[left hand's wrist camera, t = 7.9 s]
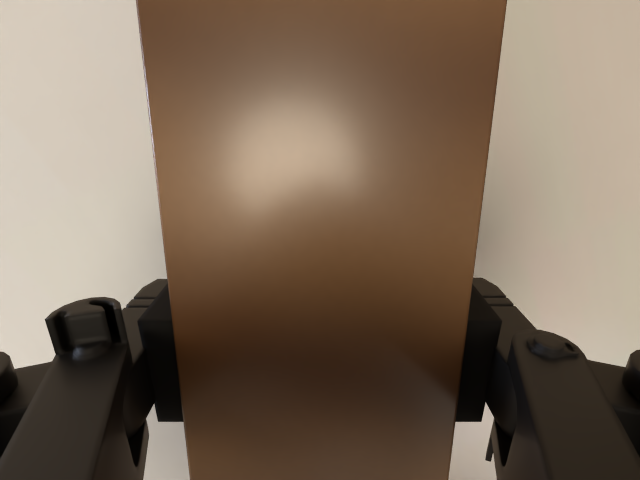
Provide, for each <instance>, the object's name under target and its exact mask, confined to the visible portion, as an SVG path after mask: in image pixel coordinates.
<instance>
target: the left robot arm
mask: <svg viewBox="0 0 640 480" xmlns="http://www.w3.org/2000/svg"><path fill="white" fill-rule="evenodd" d="M45 321H46V325H47V328H48V331H49V334H50V337H51V341H52V344H53V347H54V350H55V353H56V355H55V357H54V359H53V361H52V362H48V363H43V364H38V365H33V366H28V367H23V368H18V369H14V367H13V364H12V361H11V359H10V356H9V355H7V354H6V353H4V352H0V480H143V476H144V469H145V462H146V454H147V447H148V439H149V432H148V426H147V421H146V417H147V416H148V414H149V412H150V410H151V408H152V406H153V404H155V409H156V414H157V418H158V422H184V420H183V412H182V403H181V394H180V385H179V376H178V367H177V359H176V350H175V341H174V332H173V323H172V314H171V305H170V297H169V288H168V279H157V280H155V281H153V282H152V283H150V284H148V285H146V286H145V287H143V288H142V289H141V290H140V291H139V292H138V293H137V294H136V296H135V297H134V299H132V300H131V301H130V302H129V303H128V304H127V305H126V308H124V309H123V310H122V309H121V305H120V302H118V301H117V300H115V299H113V298H107V297H95V298H88V299H83V300H78V301H75V302H73V303H70V304H67V305H64V306H63V307H61V308H59V309H57V310H55V311H54V312H52V313H51V314H50V315H49V316H48V317H47V318H46V319H45ZM485 402H486V403H487V405H488V407H489V409H490V411H491V413H492V414H493V416H494V421H493V426H492V430H491V434H490V439H489V443H488V448H487V453H486V460H487V461H491V458H492V454H493V453H494V461H495V468H496V475H497V480H640V350H636V351H635V352H633V353H632V354H630V357H629V360H628V362H627V365H626V367H621V366H616V365H611V364H606V363H600V362H595V361H591V360H587V358H586V357H585V355H584V353H583V352H582V351H581V350H580V349H579V347H578V346H576V345H575V344H573V343H572V342H570V341H569V340H567V339H566V338H563V337H561V336H559V335H556V334H554V333H550V332H546V331H542V330H537V329H536V328H535V327H534V326H533V325H532V324H531V323H530V322H529V321H528V319H527V318H526V317H525V316H524V315H523V314H522V313H521V312H520V311H519V310H518V309H517V308H516V306H513V303H512V302H511V301H510V300H509V299H508V298H506V296H505V294H504V293H503V292H502V291H501V290H500V289H499V288H498V287H497V286H496V285H494V284H492V283H490V282H489V281H487V280H485V279H483V278H473V281H472V290H471V298H470V306H469V314H468V322H467V330H466V338H465V347H464V355H463V363H462V371H461V379H460V387H459V396H458V404H457V412H456V420H455V422H481V421H482V416H483V411H484V407H485Z"/></svg>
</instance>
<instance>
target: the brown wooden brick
mask: <svg viewBox="0 0 640 480" xmlns="http://www.w3.org/2000/svg"><path fill="white" fill-rule="evenodd" d="M506 4H507V0H136V5H137V13H138V22H139V31H140V40H141V49H142V58H143V67H144V75H145V84H146V93H147V102H148V111H149V120H150V128H151V137H152V146H153V155H154V164H155V173H156V182H157V190H158V199H159V208H160V217H161V226H162V235H163V244H164V252H165V261H166V270H167V279H168V288H169V297H170V305H171V314H172V323H173V332H174V341H175V350H176V359H177V367H178V376H179V385H180V394H181V403H182V412H183V420H184V429H185V438H186V447H187V456H188V465H189V474H190V480H448V477H449V469H450V461H451V453H452V444H453V436H454V428H455V420H456V412H457V404H458V396H459V387H460V379H461V371H462V363H463V355H464V347H465V338H466V330H467V322H468V314H469V306H470V298H471V290H472V281H473V273H474V265H475V257H476V249H477V241H478V232H479V224H480V216H481V208H482V200H483V192H484V184H485V175H486V167H487V159H488V151H489V143H490V135H491V126H492V118H493V110H494V102H495V94H496V86H497V78H498V69H499V61H500V53H501V45H502V37H503V29H504V21H505V12H506Z"/></svg>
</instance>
